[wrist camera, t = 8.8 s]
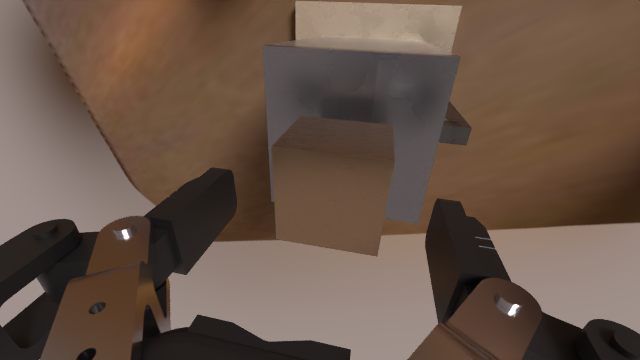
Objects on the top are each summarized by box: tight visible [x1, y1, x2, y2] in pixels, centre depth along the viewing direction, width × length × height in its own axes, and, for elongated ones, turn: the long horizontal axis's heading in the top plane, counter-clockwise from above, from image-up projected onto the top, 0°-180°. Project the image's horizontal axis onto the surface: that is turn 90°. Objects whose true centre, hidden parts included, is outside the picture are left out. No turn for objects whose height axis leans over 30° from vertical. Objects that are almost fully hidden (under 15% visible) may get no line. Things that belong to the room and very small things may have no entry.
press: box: [263, 1, 471, 223], centre depth 25 cm, size 16×16×18 cm
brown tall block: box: [272, 116, 395, 256], centre depth 20 cm, size 7×7×21 cm
